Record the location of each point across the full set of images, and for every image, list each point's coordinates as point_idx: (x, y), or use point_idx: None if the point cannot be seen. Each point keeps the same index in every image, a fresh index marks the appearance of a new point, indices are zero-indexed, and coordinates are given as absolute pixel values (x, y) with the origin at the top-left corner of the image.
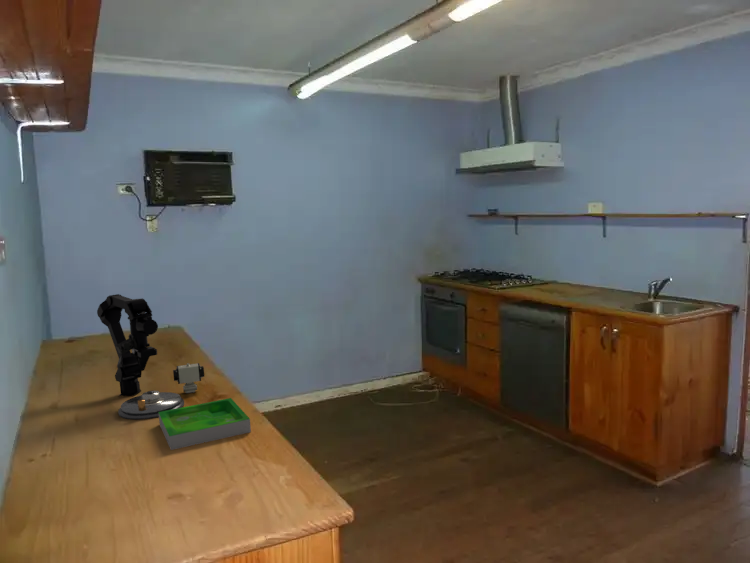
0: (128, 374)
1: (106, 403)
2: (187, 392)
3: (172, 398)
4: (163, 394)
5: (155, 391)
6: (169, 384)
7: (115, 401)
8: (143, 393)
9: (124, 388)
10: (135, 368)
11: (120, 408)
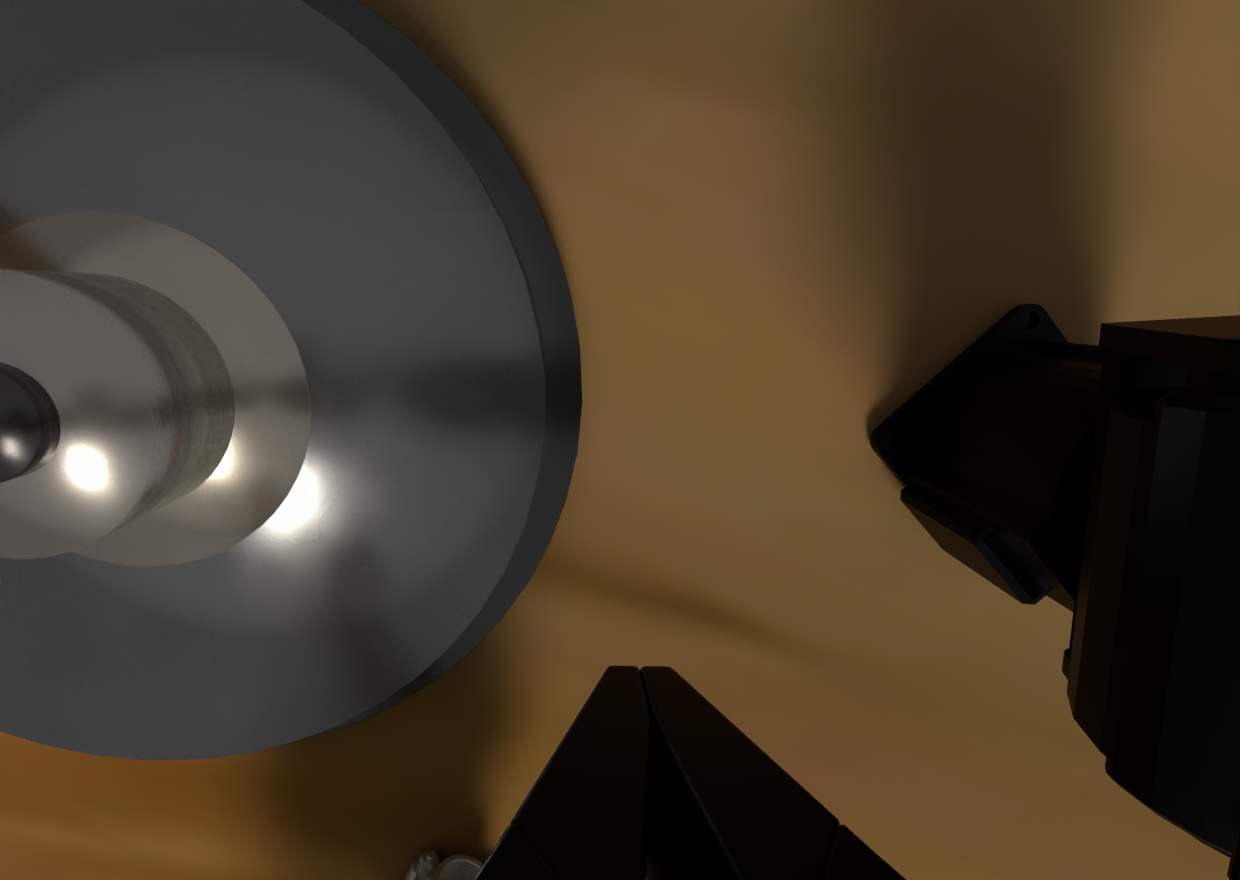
0: (1101, 469)
1: (898, 67)
2: (408, 870)
3: (31, 642)
4: (322, 634)
5: (49, 518)
6: (911, 856)
7: (871, 187)
8: (85, 326)
9: (1037, 375)
10: (1158, 683)
11: (391, 41)
